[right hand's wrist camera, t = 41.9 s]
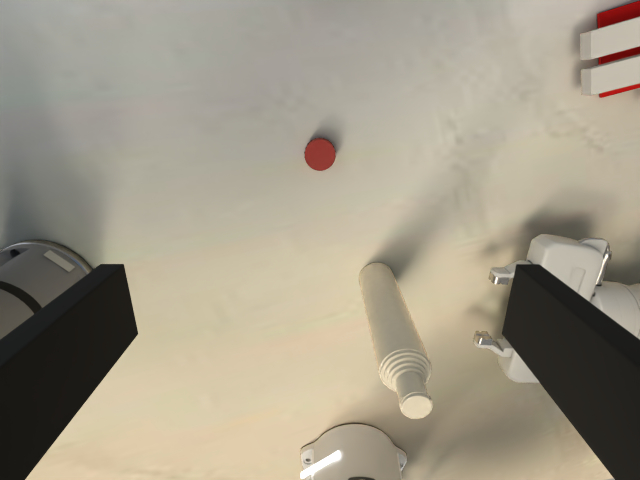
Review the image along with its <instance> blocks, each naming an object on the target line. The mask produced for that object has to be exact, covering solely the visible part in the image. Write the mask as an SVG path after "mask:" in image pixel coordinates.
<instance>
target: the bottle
mask: <svg viewBox="0 0 640 480" xmlns="http://www.w3.org/2000/svg"><path fill="white" fill-rule="evenodd" d="M359 283H360V288H361V293H362V297H363V302H364V306H365V311H366V316H367V320H368V325H369V330H370V334H371V339H372V344H373V348H374V353H375V358H376V362H377V367H378V371H379V376H380V379H381V380H382V382H383V383H384V384H385V386H386V387H388V388H389V389H390V390H392V391H394V392H396V393H397V394H398V398H399V406H400V410H401V412H402V413H403V414H404V415H405V416H406V417H408V418H411V419H420V418H423V417H425V416H427V415H428V414H429V413H430V412H431V410H432V407H433V403H432V400H431V398H430V396H429V395H428V392H427V389H426V387H425V385H426V383H427V382H428V380H429V378H430V376H431V363H430V360H429V358H428V355H427V353H426V351H425V348H424V346H423V343H422V341H421V339H420V336H419V334H418V332H417V329H416V327H415V324H414V322H413V320H412V317H411V315H410V313H409V310H408V308H407V305H406V303H405V301H404V298H403V296H402V294H401V291H400V289H399V286H398V284H397V282H396V279H395V277H394V275H393V272H392V270H391V269H390V268H389V267H388V266H387V265H385V264H383V263H371V264H369V265H367V266H365V267H364V268H363V269H362V271H361V272H360V275H359Z"/></svg>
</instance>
